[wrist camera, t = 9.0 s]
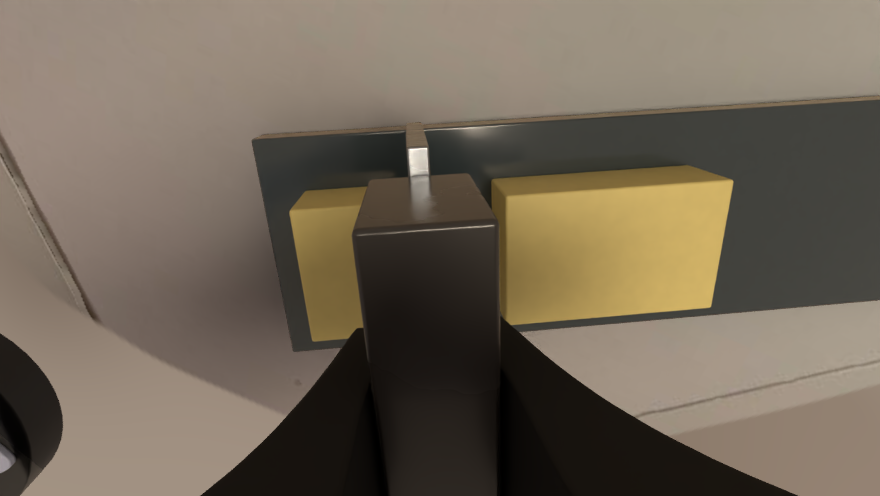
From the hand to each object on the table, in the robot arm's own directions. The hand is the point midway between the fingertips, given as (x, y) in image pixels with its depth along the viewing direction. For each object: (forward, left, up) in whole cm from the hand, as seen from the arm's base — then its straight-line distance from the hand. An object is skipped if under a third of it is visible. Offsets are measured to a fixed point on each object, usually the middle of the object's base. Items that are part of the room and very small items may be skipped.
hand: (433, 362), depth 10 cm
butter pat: (-2, +1, -7) cm, 8 cm away
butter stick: (+6, -3, -7) cm, 9 cm away
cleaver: (0, 0, -4) cm, 4 cm away
